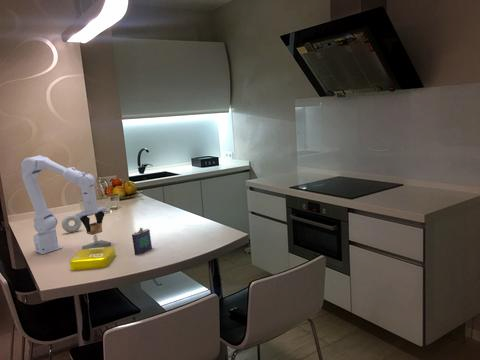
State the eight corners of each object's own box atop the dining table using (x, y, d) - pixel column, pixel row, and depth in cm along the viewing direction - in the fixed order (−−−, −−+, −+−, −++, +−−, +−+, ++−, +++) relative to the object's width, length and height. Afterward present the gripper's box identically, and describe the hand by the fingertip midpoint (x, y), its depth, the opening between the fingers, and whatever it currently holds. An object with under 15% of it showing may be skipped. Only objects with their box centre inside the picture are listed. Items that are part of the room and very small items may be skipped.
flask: (149, 247, 183) (146, 224, 181) (154, 248, 181) (151, 225, 179) (133, 254, 176) (129, 230, 174) (137, 255, 174) (134, 231, 172)
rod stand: (91, 252, 183) (89, 239, 182) (82, 249, 188) (80, 237, 187) (111, 245, 190) (109, 233, 189) (101, 242, 195) (100, 231, 194)
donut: (63, 235, 214) (60, 216, 212) (62, 233, 216) (59, 215, 215) (83, 230, 219) (80, 212, 217) (82, 229, 221) (79, 211, 220)
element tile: (117, 255, 177) (115, 244, 177) (107, 268, 163) (105, 257, 162) (82, 258, 177) (80, 247, 176) (69, 272, 163) (67, 260, 162)
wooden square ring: (92, 235, 184) (91, 226, 183) (86, 233, 187) (85, 225, 187) (102, 231, 188) (101, 223, 187) (96, 230, 191) (95, 222, 190)
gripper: (79, 205, 177) (83, 235, 179) (108, 198, 188) (112, 226, 190) (71, 204, 182) (76, 233, 184) (100, 196, 192) (104, 224, 195)
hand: (94, 229), depth 187 cm, fingers closed on wooden square ring, 5 cm apart
